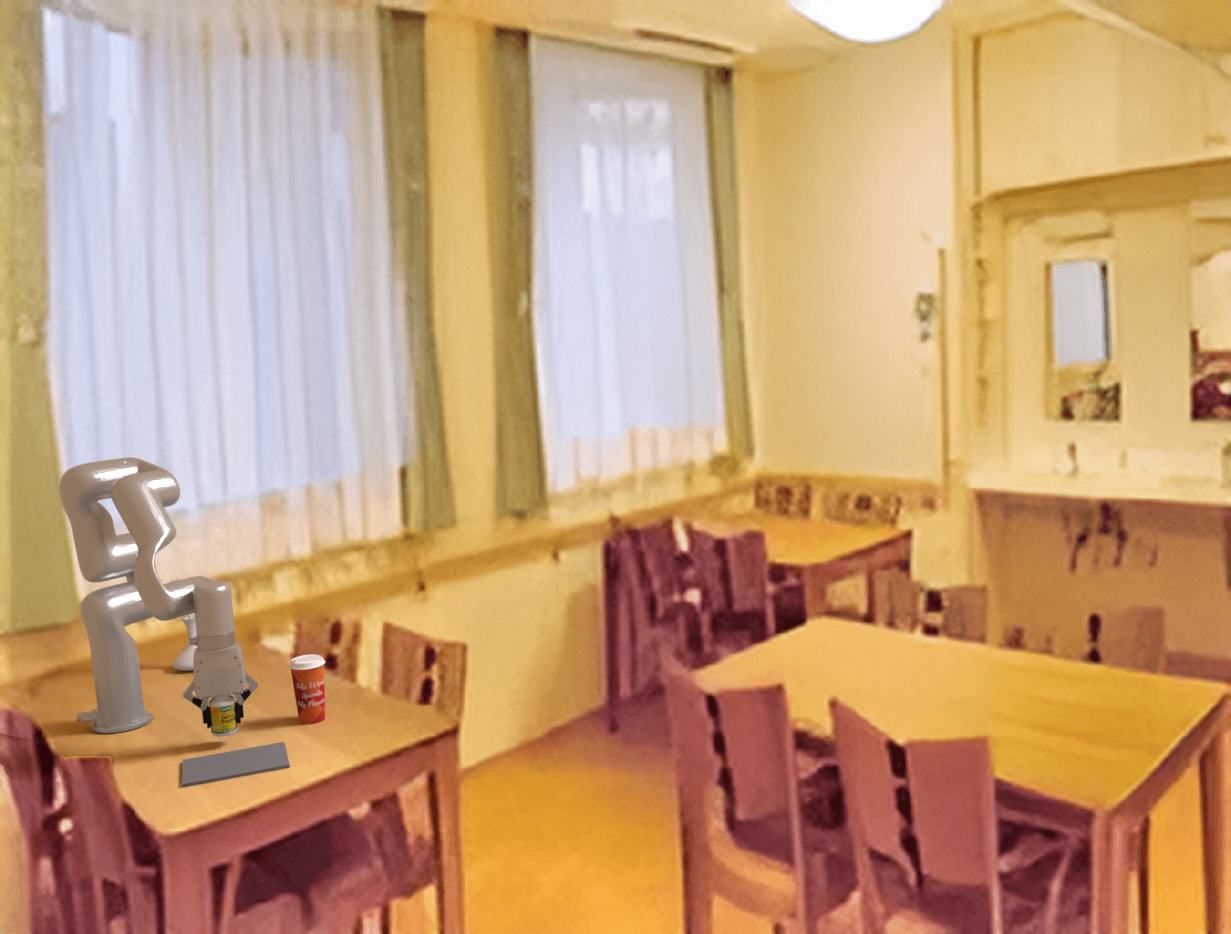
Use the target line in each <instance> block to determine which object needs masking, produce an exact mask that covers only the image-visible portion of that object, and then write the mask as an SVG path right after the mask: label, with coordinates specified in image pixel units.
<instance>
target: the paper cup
mask: <svg viewBox="0 0 1231 934" xmlns="http://www.w3.org/2000/svg"><path fill="white" fill-rule="evenodd" d="M324 664H326V660H324V657H322V655H320V654H313V653H312V654H303V655H299V656H296V657H294V658H291V660H290V663H289V666H288V667H289V670H290V672H291V680H292V685H293V692H294V696H295V697H294V698H295V704H296V710H297V715H298V721H299V724H303V725H313V724H318V723H320V722H322V721H325V720H326V694H325V693H326V691H325V671H324V670H325V669H324Z"/></svg>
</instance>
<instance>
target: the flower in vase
mask: <svg viewBox="0 0 1231 934" xmlns="http://www.w3.org/2000/svg"><path fill="white" fill-rule="evenodd" d="M178 580H182V578H179V577H175V578H174V579H171V580H170V581H169V583H170V582H174V581H178ZM179 618H180V620H181V621H182V623H183V624H184V625H185V629H186V631H187V641H188V642H187V645H186V647H184V649H183V650H182V651H181V652H180V653H179V654H178V655H177V656H176V657H175V659H174V660H173V662H172V667H173V669H175V670H179V671H188V672H189V671H193V659H194V651H195V649H196V648H198V646H196V645H190V639H191V638H194V637H195V636H197V634H196V623H195V613H193V614H188V615H185V616H182V617H179Z"/></svg>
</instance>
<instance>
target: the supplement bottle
mask: <svg viewBox="0 0 1231 934" xmlns="http://www.w3.org/2000/svg"><path fill="white" fill-rule="evenodd" d="M208 707H209V712H210V723H211V727H210V732H211V734H212V735H213V736H214V737H227V736H232V735H234V734H236V733H237V731H238V730H239V725H238V723H237V714H236V698H235V696H233V695H232V694H231V695H224V696H218V697H211V698H210V700H208Z"/></svg>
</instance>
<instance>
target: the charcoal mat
mask: <svg viewBox="0 0 1231 934" xmlns="http://www.w3.org/2000/svg"><path fill="white" fill-rule="evenodd" d="M288 756H289V755H288V752H287V747H286V743H285V741H282V742H276V743H269V744H264V745H263V744H262V745H258V746H253V747H247V748H241V749H237V750H236V749H235V750H230V751H224V752H219V753H212V754H207V755H203V756H202V755H201V756H196V757H195V756H194V757H190V758H185V759H182V761H181V764H182V765H181V788H188V787H192V786H196V785H204V784H208V783H212V782H213V783H214V782H219V781H225V780H228V779H229V780H230V779H234V778H240V777H245V776H252V775H256V774H261V773H268V772H273V771H279V770H283V769H288V768H291V766H290V760H289V757H288Z"/></svg>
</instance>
